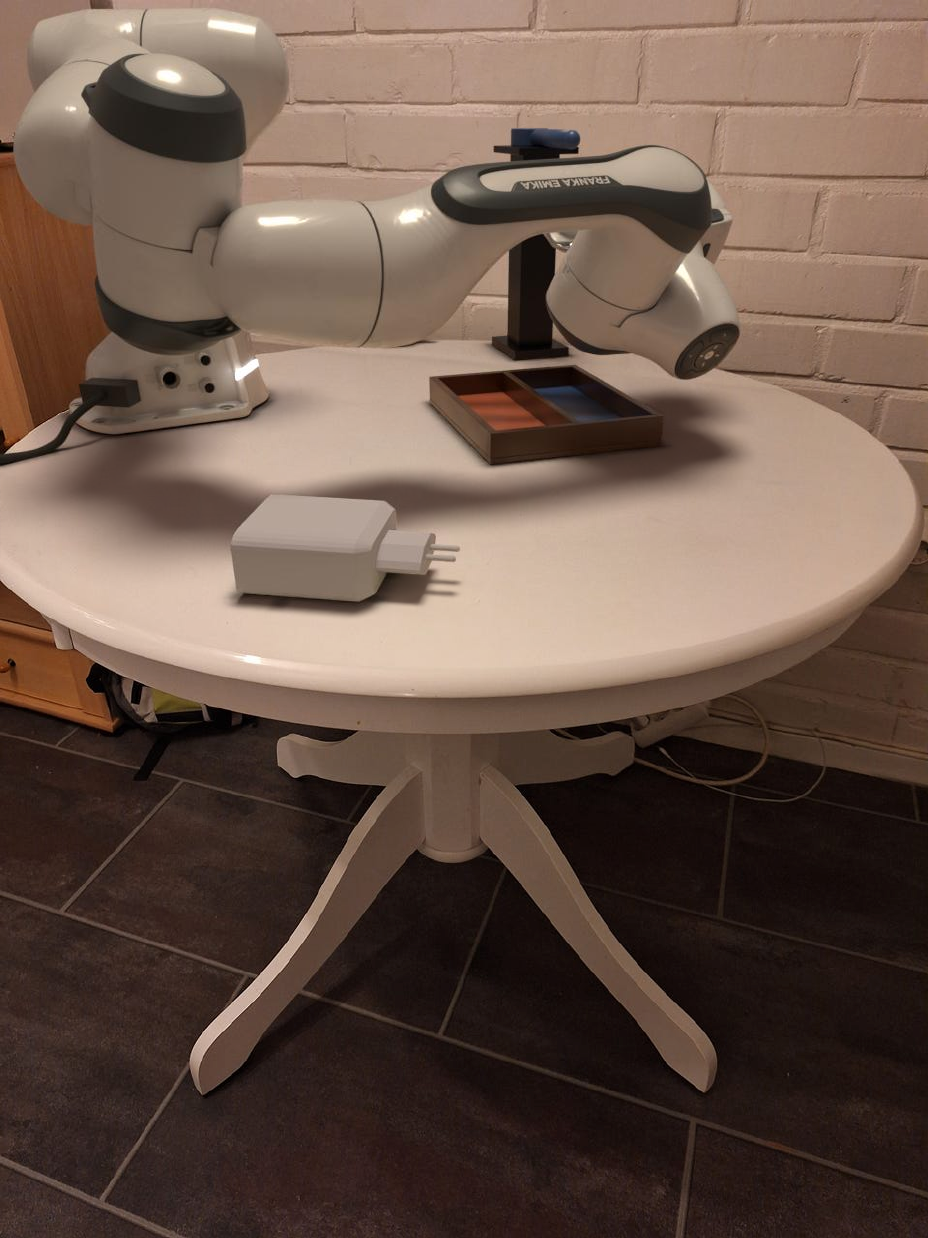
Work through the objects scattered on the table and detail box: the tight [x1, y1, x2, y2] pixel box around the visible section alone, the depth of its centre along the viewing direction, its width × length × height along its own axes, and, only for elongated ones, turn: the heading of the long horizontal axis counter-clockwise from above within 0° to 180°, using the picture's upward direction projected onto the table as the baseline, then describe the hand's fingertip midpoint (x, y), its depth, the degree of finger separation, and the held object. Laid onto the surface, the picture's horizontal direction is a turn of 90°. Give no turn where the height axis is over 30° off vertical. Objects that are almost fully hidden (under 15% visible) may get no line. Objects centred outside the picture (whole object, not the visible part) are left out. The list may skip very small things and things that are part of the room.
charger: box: [230, 493, 461, 602], centre depth 66 cm, size 5×9×15 cm
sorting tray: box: [428, 364, 665, 465], centre depth 99 cm, size 23×18×3 cm
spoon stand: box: [491, 144, 580, 361], centre depth 124 cm, size 10×8×26 cm
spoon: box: [510, 127, 581, 149], centre depth 113 cm, size 18×5×2 cm, turn 17°
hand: (605, 167), depth 100 cm, fingers open, 8 cm apart
